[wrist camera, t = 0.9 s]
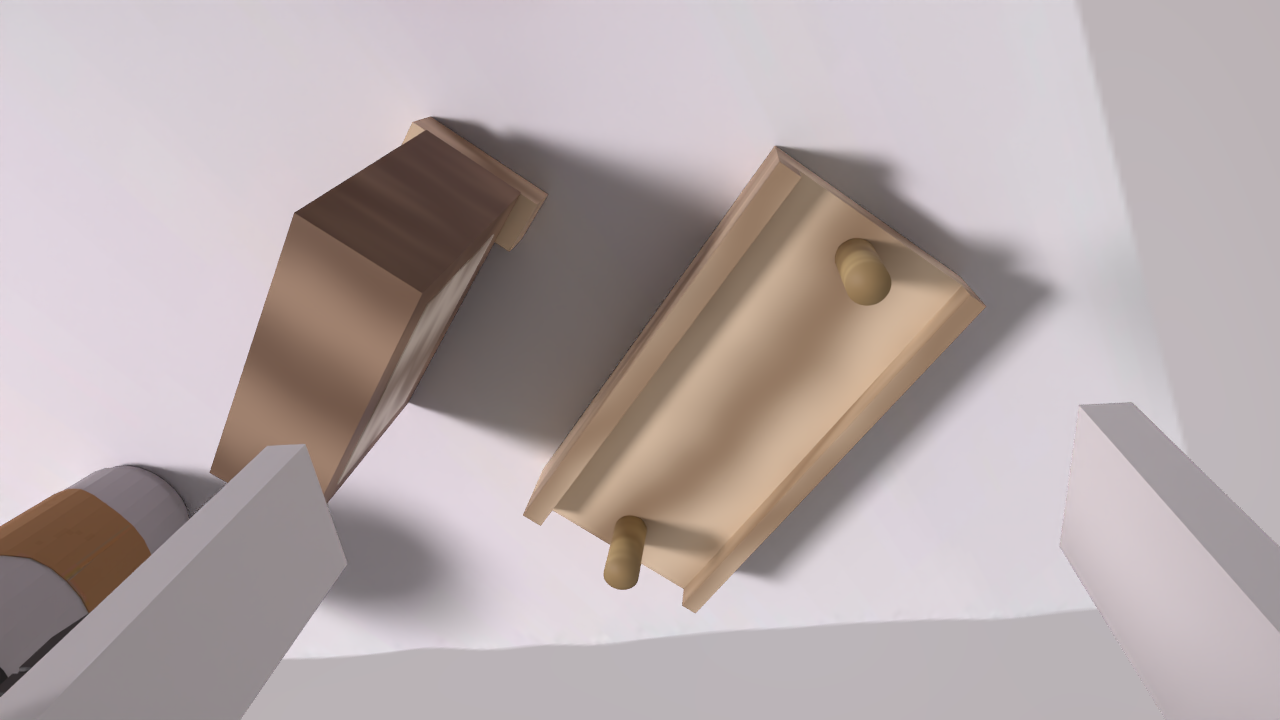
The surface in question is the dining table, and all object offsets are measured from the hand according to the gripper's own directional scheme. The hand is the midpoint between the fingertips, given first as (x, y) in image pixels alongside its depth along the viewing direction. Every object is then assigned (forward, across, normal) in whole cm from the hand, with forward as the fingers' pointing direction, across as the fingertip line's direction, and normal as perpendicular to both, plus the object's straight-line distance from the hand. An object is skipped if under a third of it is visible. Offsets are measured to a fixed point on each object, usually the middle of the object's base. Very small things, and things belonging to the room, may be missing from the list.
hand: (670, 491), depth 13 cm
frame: (+21, -14, -2) cm, 25 cm away
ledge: (+22, 0, -9) cm, 23 cm away
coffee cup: (+22, -34, -15) cm, 44 cm away
